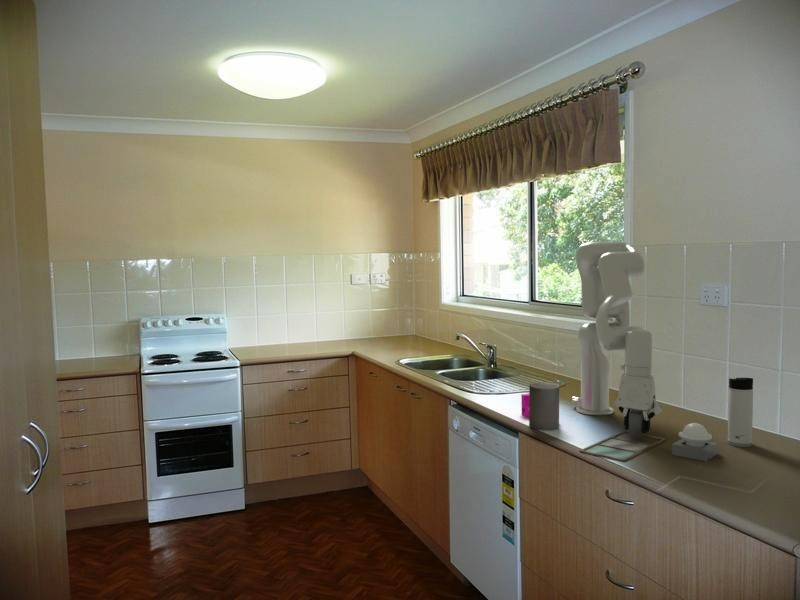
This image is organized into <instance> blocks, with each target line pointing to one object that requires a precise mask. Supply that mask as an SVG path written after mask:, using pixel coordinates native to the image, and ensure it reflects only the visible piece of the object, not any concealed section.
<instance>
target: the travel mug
mask: <svg viewBox="0 0 800 600" xmlns="http://www.w3.org/2000/svg"><path fill="white" fill-rule="evenodd" d="M753 386H754V378H753V377H735V378H728V395H727V396H728V399H727V401H728V402H727V404H728V405H727V410H728V411H727V443H728V444H729V445H730V446H733V447H737V448H749V447H752V445H753V411H754V410H753V409H754V408H753V407H754V406H753V405H754V387H753Z"/></svg>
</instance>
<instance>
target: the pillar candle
mask: <svg viewBox="0 0 800 600" xmlns="http://www.w3.org/2000/svg"><path fill="white" fill-rule="evenodd" d="M528 386H529V391H528V394H529V418H528V420H529V421H528V422H529V423H528V426H529V427H530V428H531V429H534V430H540V431H552V430H558V429H559V427H560V385H559V384H558V383H553V382H545V380H543V382H542V381H540V382H532V383H530V384H529V385H528Z"/></svg>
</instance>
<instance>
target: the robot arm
mask: <svg viewBox="0 0 800 600" xmlns="http://www.w3.org/2000/svg"><path fill="white" fill-rule="evenodd" d="M575 258H576V267H577V270H578V273H579V275H580V277H579V278H580V282H581V284H580V285H581V287H580V288H581V289H580V290H581V310H582V314H583V316H584V317H585V318H587V319H592V320H595V322H587V323H584V324H583V325H581V326H580V327H579V329H578V333H577V336H578V337H577V339H578V343H579V344H578V345H579V351H580V396H579V397H578V396H572V397H571V403H572V404H577V406H575V407H576V409H575V410H576V412H577V413H579V414H583V415H589V416H608V415H612V414H613V413H614V408H613V407H611V406H610V404H609V403H610V401H609V400H610V394H609V393H610V386H609V385H610V363H609V360H608V358H607V357H606V356H605V354H604V353H603V351H604V350H605V351H608V352H613V351H616V352H617V351H619V352H620V351H622V352H623V351H624V364H623V365H620V370H621V371H623V373H622V374H621V377H620V381H619V386H618V397H617V398H616V400H615V401H614V402H613V405H614V407H617V408H618V410H619V411H620V413H621V415H622V416H623V426H624V429H625V430H624V431H628V426H629V411H631V409H634V410H640V411H643V415H644V420H643V421H642V433H645V434H648V432H649V431H650V430H651V419H653V418H654V417H655V416H657V415H658V414H660V413H662V411H663V409H662V408H661V407H660V405H659V404H658V401H657V392H656V391H657V390H656V383H655V379H654V376H652V364H653V363H652V358H653V357H652V355H653V335H652V333H651V331H649V330H645V329H644V328H642V327H641V326H639V325H638V326H635V325H632V326H631V325H630V317H631V316H630V303H629V301H630V300H631V298H632V297H633V290H632V287H631V286H632V285H631V282H630V279H629V278H639V277H641V276H642V275H643V273H644V272H645V262H644V257H643V256H642V254H641V253H640V252H639V251H638V250H637V248H635V247H633V246H632V245H631V244H630V243H628V242H625V241H592V242H591V241H590V242H585V243H582V244H580V245H579V247H578V248H577V250H576V256H575ZM608 319H612V322H609V320H608ZM653 409H654V410H653ZM652 410H653V411H652Z"/></svg>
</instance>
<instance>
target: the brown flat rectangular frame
mask: <svg viewBox="0 0 800 600" xmlns="http://www.w3.org/2000/svg"><path fill="white" fill-rule="evenodd" d="M623 434H629V433H628V430H622V431H621V432H618V433H616V434H614V435H611V436H608V437H606V438H605V439H603V440H600V441H598V442H596V443H593V444H591V445H589V446H586V447H584V448H581V449H580V450H579V453H583V454H586V455H591V456H592V455H593V456H595V457H601V458H605V459H610V460H614V461H618V462H623V463H625V462H627V461H629V460H631V459H633V458H635V457H636V456H638V455H640V454H642V453H644V452H647V451H648V450H650V449H653V448H654V447H655V446H657V445H660V444H662V443H664V442H666V441H667V438H665V437H660V436H653V435H648V434H645V435H643V436H642V437H645V438H650V439H655V440H656V439H657V440H658V441H656V442H653V443H652V444H650V443H644V442H640V441H635V440H629V439H625V438H621V437H620V438H619V436H622V435H623ZM660 439H661V440H660ZM663 441H664V442H663ZM661 442H662V443H661Z"/></svg>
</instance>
